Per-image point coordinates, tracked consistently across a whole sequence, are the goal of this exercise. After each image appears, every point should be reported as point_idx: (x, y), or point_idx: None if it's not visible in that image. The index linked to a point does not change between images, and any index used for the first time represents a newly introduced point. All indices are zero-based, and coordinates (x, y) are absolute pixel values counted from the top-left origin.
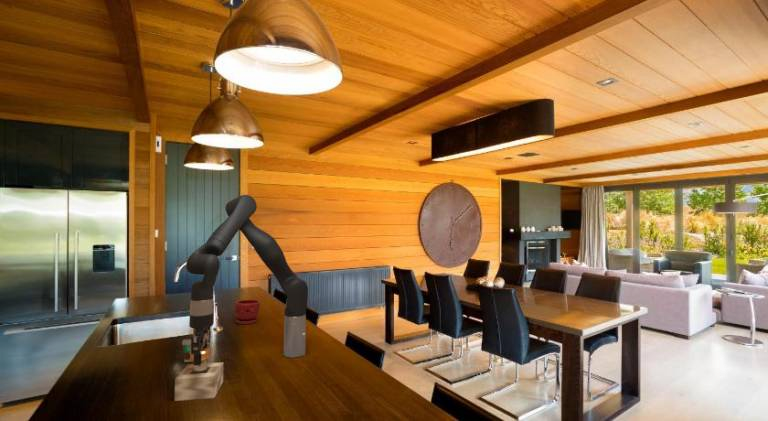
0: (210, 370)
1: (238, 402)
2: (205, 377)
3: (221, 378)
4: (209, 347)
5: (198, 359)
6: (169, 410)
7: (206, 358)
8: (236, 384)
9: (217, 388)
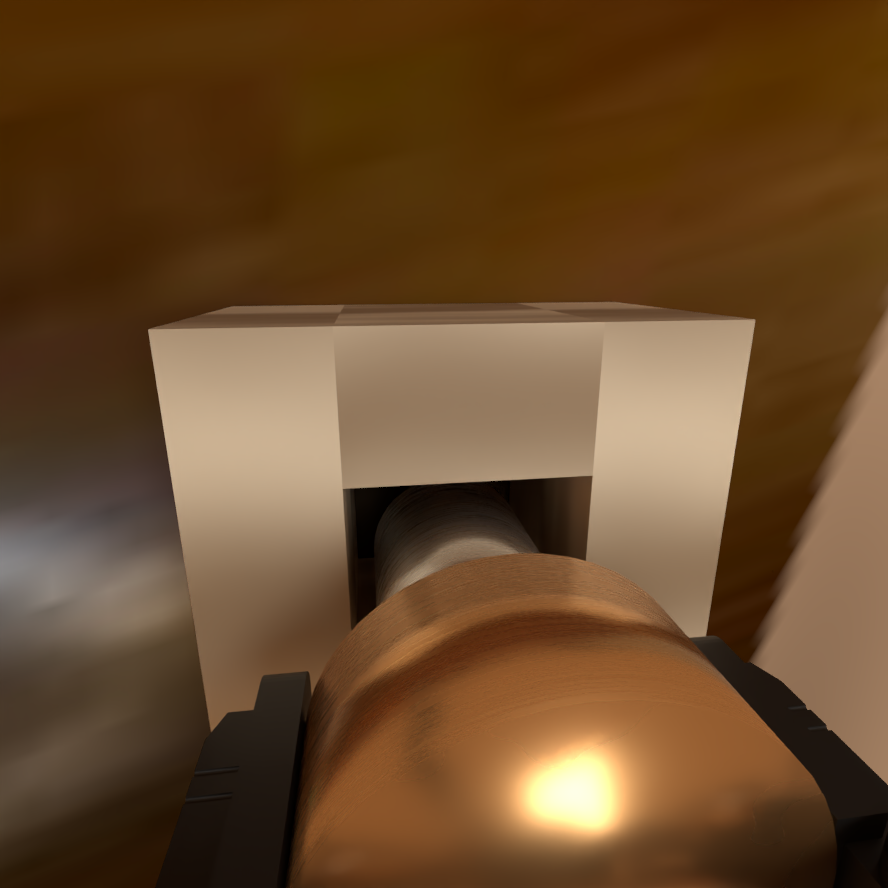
0: (506, 452)
1: (784, 6)
2: (730, 447)
3: (316, 310)
4: (382, 810)
5: (833, 739)
6: (731, 591)
7: (668, 616)
8: (318, 116)
9: (503, 305)
